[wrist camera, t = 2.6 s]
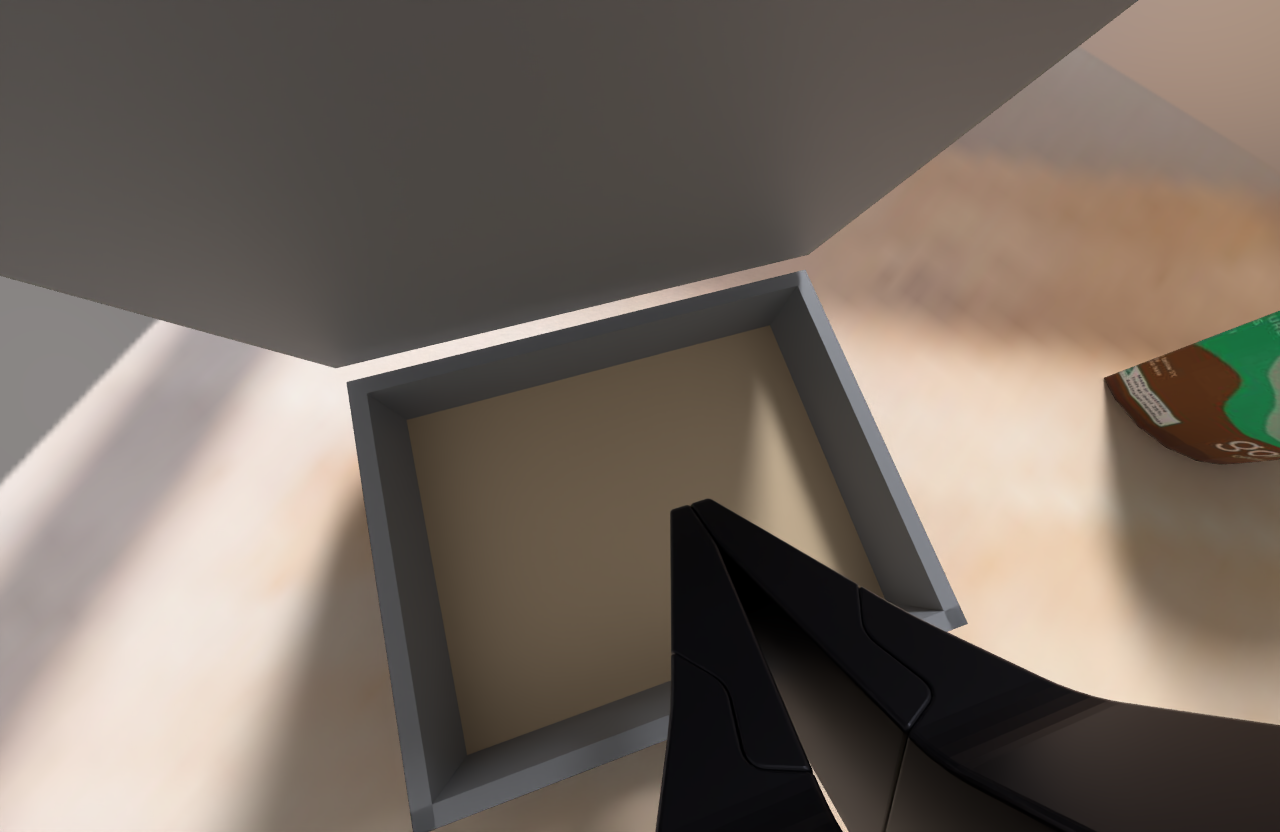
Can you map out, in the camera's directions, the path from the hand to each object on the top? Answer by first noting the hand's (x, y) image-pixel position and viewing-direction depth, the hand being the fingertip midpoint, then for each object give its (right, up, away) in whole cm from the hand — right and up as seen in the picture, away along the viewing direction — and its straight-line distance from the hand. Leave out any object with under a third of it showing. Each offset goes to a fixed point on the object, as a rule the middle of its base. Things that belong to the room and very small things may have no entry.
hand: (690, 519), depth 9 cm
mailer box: (-1, -2, +10) cm, 11 cm away
